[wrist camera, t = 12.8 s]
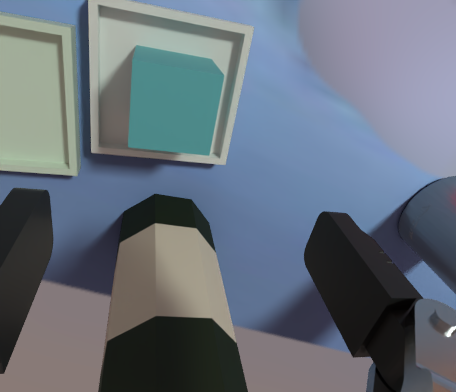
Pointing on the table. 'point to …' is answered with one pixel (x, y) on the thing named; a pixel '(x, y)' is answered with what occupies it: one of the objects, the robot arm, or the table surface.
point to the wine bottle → (169, 306)
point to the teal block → (173, 101)
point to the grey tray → (165, 40)
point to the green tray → (38, 96)
